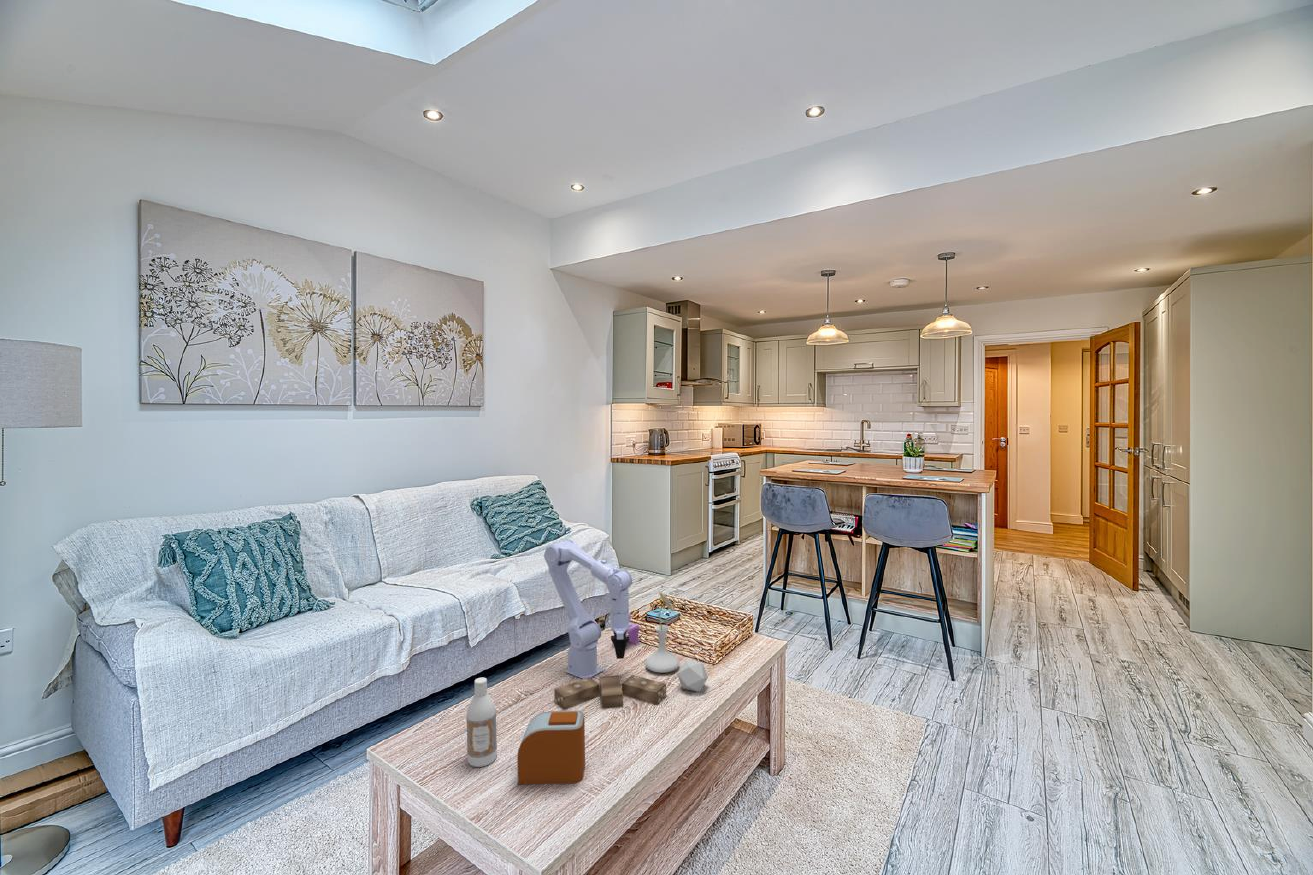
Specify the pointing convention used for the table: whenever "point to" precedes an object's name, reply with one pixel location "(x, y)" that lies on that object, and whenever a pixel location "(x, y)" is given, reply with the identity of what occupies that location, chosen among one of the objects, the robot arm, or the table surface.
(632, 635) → the toy chair
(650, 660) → the flower in vase
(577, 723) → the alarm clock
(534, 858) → the table surface
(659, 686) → the pip block five
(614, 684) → the plain block
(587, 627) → the robot arm
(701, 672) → the die
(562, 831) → the table surface
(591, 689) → the pip block three
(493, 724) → the bath foam
